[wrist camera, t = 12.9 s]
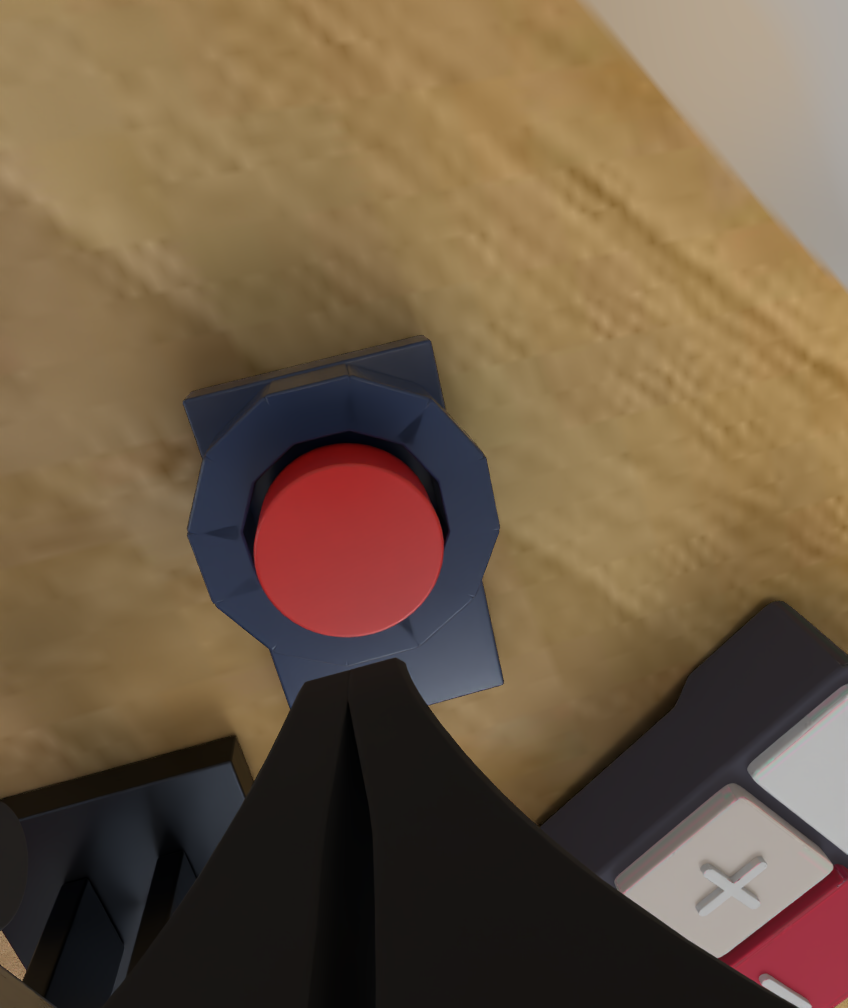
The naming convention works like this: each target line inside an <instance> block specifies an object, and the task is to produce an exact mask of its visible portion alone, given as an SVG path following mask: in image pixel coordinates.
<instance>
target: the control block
mask: <svg viewBox="0 0 848 1008" xmlns="http://www.w3.org/2000/svg"><path fill="white" fill-rule="evenodd" d="M183 406H184V409H185V411H186V414H187V417H188V420H189V423H190V426H191V428H192V431H193V434H194V437H195V440H196V443H197V446H198V448H199V451H200V454H201V457H202V463H201V468H200V472H199V477H198V481H197V486H196V490H195V494H194V499H193V503H192V508H191V512H190V517H189V521H188V526H187V531H188V533H187V537H188V539H189V542H190V545H191V547H192V550H193V553H194V555H195V558H196V561H197V563H198V566H199V569H200V571H201V574H202V577H203V579H204V582H205V585H206V587H207V590H208V593H209V595H210V598H211V601H212V602H213V603H214V604H215V605H216V607H217V608H218V609H220V610H221V611H222V612H223V613H225V614H226V615H227V616H228V617H230V618H231V619H232V620H233V621H235V622H236V623H237V624H238V625H240V626H241V627H242V628H243V629H245V630H246V631H247V632H248V633H250V634H251V635H252V636H253V637H255V638H256V639H257V640H258V641H260V642H261V643H262V644H263V645H265V646H266V647H267V648H268V649H269V651H270V653H271V656H272V659H273V662H274V665H275V668H276V671H277V673H278V676H279V679H280V682H281V685H282V688H283V690H284V693H285V696H286V699H287V702H288V705H289V708H290V709H291V707H292V705H293V703H294V701H295V699H296V697H297V694H298V692H299V691H300V689H301V687H302V686H303V684H304V683H305V682H307V681H310V680H314V679H318V678H321V677H325V676H329V675H332V674H336V673H340V672H344V671H347V670H351V669H355V668H358V667H362V666H366V665H369V664H373V663H377V662H380V661H384V660H388V659H391V658H395V657H396V658H398V659H400V660H402V661H403V662H405V663H406V665H407V669H408V672H409V674H410V676H411V679H412V681H413V682H414V684H415V686H416V688H417V690H418V691H419V693H420V695H421V696H422V698H423V699H424V701H425V702H426V704H427V705H432V704H435V703H439V702H442V701H446V700H450V699H453V698H457V697H461V696H464V695H468V694H471V693H475V692H479V691H482V690H486V689H489V688H493V687H497V686H500V685H503V684H504V680H503V675H502V670H501V665H500V661H499V656H498V651H497V647H496V642H495V637H494V633H493V628H492V623H491V619H490V614H489V609H488V605H487V600H486V595H485V591H484V586H483V581H482V578H483V575H484V573H485V570H486V567H487V564H488V561H489V559H490V556H491V553H492V550H493V548H494V545H495V542H496V539H497V537H498V534H499V529H500V524H499V519H498V514H497V509H496V504H495V499H494V494H493V489H492V484H491V479H490V474H489V469H488V464H487V459H486V457H485V456H484V454H483V452H482V451H481V450H480V448H479V447H478V446H477V445H476V444H475V442H474V441H473V440H472V439H471V438H470V436H469V435H468V434H467V433H466V432H465V431H464V430H463V429H462V428H461V427H460V426H459V425H458V423H457V422H456V421H455V420H454V419H453V418H452V417H451V416H450V415H449V414H448V413H447V412H446V408H445V404H444V399H443V394H442V390H441V385H440V380H439V376H438V371H437V366H436V362H435V357H434V352H433V348H432V343H431V341H430V340H429V339H428V338H427V337H425V336H424V335H419V336H415V337H411V338H407V339H403V340H398V341H394V342H390V343H386V344H382V345H378V346H374V347H370V348H366V349H362V350H358V351H354V352H350V353H346V354H341V355H337V356H333V357H329V358H325V359H321V360H317V361H313V362H309V363H305V364H301V365H297V366H293V367H289V368H285V369H280V370H276V371H272V372H268V373H264V374H260V375H256V376H252V377H248V378H244V379H240V380H236V381H232V382H228V383H223V384H219V385H215V386H211V387H207V388H203V389H199V390H195V391H192V392H191V393H190V394H189V395H188V396H187V397H186V398H185V399H184V400H183ZM337 443H358V444H364V445H369V446H373V447H376V448H379V449H382V450H384V451H386V452H388V453H390V454H392V455H394V456H395V457H397V458H399V459H400V460H402V461H403V462H404V463H405V464H406V465H407V466H408V467H410V468H411V469H412V471H413V472H414V473H415V474H416V475H417V476H418V478H419V479H420V481H421V483H422V484H423V486H424V488H425V490H426V492H427V494H428V496H429V499H430V501H431V503H432V505H433V507H434V509H435V512H436V514H437V516H438V518H439V521H440V525H441V528H442V533H443V539H444V555H443V563H442V567H441V570H440V574H439V576H438V579H437V581H436V584H435V585H434V587H433V589H432V591H431V592H430V594H429V595H428V597H427V598H426V599H425V601H424V602H423V603H422V604H421V605H420V606H419V607H418V608H417V609H416V610H415V611H414V612H413V613H412V614H411V615H410V616H408V617H407V618H406V619H404V620H403V621H401V622H400V623H398V624H396V625H394V626H392V627H390V628H388V629H386V630H383V631H380V632H377V633H374V634H370V635H365V636H359V637H334V636H327V635H323V634H319V633H315V632H313V631H310V630H308V629H305V628H303V627H301V626H299V625H298V624H296V623H294V622H293V621H291V620H290V619H288V618H287V617H286V616H284V615H283V614H282V613H281V612H280V611H279V610H278V609H277V608H276V607H275V606H274V605H273V603H272V602H271V601H270V600H269V599H268V597H267V595H266V594H265V592H264V590H263V589H262V587H261V584H260V582H259V579H258V577H257V573H256V569H255V564H254V540H255V534H256V529H257V525H258V520H259V516H260V512H261V507H262V504H263V501H264V498H265V495H266V493H267V491H268V489H269V487H270V485H271V484H272V482H273V481H274V479H275V478H276V477H277V475H278V474H279V473H280V472H281V471H282V470H283V469H284V468H285V467H286V466H287V465H288V464H290V463H291V462H292V461H293V460H295V459H296V458H298V457H299V456H301V455H303V454H305V453H307V452H309V451H311V450H313V449H316V448H319V447H322V446H326V445H331V444H337Z"/></svg>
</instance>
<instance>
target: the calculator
mask: <svg viewBox="0 0 848 1008" xmlns="http://www.w3.org/2000/svg"><path fill="white" fill-rule="evenodd" d="M539 828H541V829H542V830H543V831H544V832H545V833H546V834H547V835H549V836H550V837H551V838H552V839H553V840H554V841H555V842H557V843H558V844H559V845H560V846H561V847H563V848H564V849H565V850H566V851H568V852H569V853H570V854H571V855H573V856H574V857H575V858H576V859H578V860H579V861H580V862H581V863H582V864H584V865H585V866H586V867H587V868H589V869H590V870H591V871H592V872H594V873H595V874H596V875H597V876H599V877H600V878H601V879H603V880H604V881H605V882H607V883H608V884H610V885H611V886H613V887H614V888H615V889H617V890H618V891H620V892H621V893H622V894H624V895H625V896H627V897H628V898H630V899H631V900H632V901H634V902H635V903H637V904H638V905H639V906H641V907H642V908H644V909H645V910H647V911H648V912H649V913H651V914H652V915H654V916H655V917H657V918H658V919H659V920H661V921H662V922H664V923H665V924H666V925H668V926H669V927H671V928H672V929H674V930H675V931H676V932H678V933H679V934H681V935H682V936H683V937H685V938H686V939H688V940H689V941H691V942H692V943H694V944H696V945H697V946H699V947H700V948H702V949H704V950H705V951H707V952H708V953H710V954H712V955H713V956H715V957H716V958H718V959H719V960H721V961H723V962H724V963H726V964H727V965H729V966H731V967H732V968H734V969H735V970H737V971H739V972H740V973H742V974H743V975H745V976H747V977H748V978H750V979H751V980H753V981H754V982H756V983H758V984H759V985H761V986H763V987H764V988H766V989H768V990H770V991H771V992H773V993H775V994H776V995H778V996H780V997H782V998H783V999H785V1000H787V1001H788V1002H790V1003H792V1004H794V1005H795V1006H797V1007H799V1008H834V1007H836V1006H837V1005H838V1004H840V1003H841V1002H842V1001H844V1000H845V999H847V998H848V655H847V654H846V653H845V652H844V651H842V650H841V649H840V648H839V647H838V646H837V645H835V644H834V643H833V642H832V641H831V640H830V639H828V638H827V637H826V636H825V635H824V634H823V633H821V632H820V631H819V630H818V629H817V628H816V627H814V626H813V625H812V624H811V623H810V622H809V621H807V620H806V619H805V618H804V617H803V616H802V615H800V614H799V613H798V612H797V611H796V610H794V609H793V608H792V607H791V606H789V605H788V604H787V603H785V602H783V601H775V602H772V603H770V604H768V605H767V606H766V607H764V608H763V609H762V610H761V611H760V612H759V613H757V614H756V615H755V616H754V617H753V618H752V619H751V620H750V621H749V622H747V623H746V624H745V625H744V626H743V627H742V628H741V629H740V630H739V631H737V632H736V633H735V634H734V635H733V636H732V637H731V638H730V639H729V640H727V641H726V642H725V643H724V644H723V645H722V646H721V647H720V648H719V649H717V650H716V651H715V652H714V653H713V654H712V655H711V656H710V657H708V658H707V659H706V660H705V661H704V662H703V663H702V664H701V665H700V666H698V667H697V668H696V669H695V670H694V671H693V672H692V673H691V674H690V675H689V676H688V678H687V680H686V683H685V685H684V687H683V690H682V692H681V694H680V696H679V699H678V701H677V703H676V705H675V706H674V708H673V709H672V710H670V711H669V712H668V713H667V714H666V715H665V716H664V717H663V718H662V719H661V720H659V721H658V722H657V723H656V724H655V725H654V726H653V727H652V728H650V729H649V730H648V731H647V732H646V733H645V734H644V735H643V736H641V737H640V738H639V739H638V740H637V741H636V742H635V743H634V744H633V745H631V746H630V747H629V748H628V749H627V750H626V751H625V752H624V753H622V754H621V755H620V756H619V757H618V758H617V759H616V760H615V761H613V762H612V763H611V764H610V765H609V766H608V767H607V768H606V769H604V770H603V771H602V772H601V773H600V774H599V775H598V776H597V777H595V778H594V779H593V780H592V781H591V782H590V783H589V784H588V785H586V786H585V787H584V788H583V789H582V790H581V791H580V792H579V793H577V794H576V795H575V796H574V797H573V798H572V799H571V800H570V801H568V802H567V803H566V804H565V805H564V806H563V807H562V808H561V809H559V810H558V811H557V812H556V813H555V814H554V815H553V816H552V817H550V818H549V819H548V820H547V821H546V822H545V823H544V824H543V825H541V826H540V827H539Z"/></svg>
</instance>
